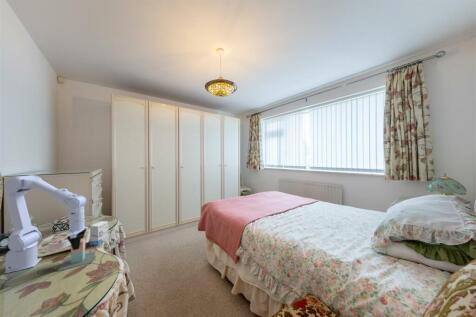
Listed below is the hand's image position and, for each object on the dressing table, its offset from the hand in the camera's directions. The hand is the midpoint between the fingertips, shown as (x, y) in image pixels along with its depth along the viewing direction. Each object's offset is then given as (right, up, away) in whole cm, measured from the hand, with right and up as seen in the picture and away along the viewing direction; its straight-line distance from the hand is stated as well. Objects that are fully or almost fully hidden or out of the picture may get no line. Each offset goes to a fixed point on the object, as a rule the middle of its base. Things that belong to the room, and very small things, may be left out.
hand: (77, 246), depth 90 cm
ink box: (-4, -7, +20) cm, 21 cm away
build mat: (0, -7, 0) cm, 7 cm away
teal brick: (0, -7, 0) cm, 7 cm away
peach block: (0, -2, 0) cm, 2 cm away
